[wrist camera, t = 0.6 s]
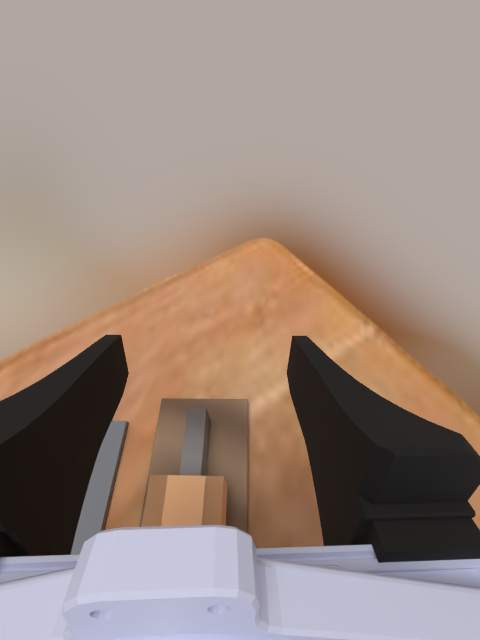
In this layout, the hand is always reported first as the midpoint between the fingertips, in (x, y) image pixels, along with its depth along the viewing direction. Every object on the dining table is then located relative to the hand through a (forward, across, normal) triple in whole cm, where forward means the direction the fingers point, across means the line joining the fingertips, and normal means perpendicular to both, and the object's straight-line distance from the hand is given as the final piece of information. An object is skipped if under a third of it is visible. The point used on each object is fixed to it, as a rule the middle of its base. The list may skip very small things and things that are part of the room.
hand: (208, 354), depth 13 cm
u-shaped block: (+2, +2, +16) cm, 16 cm away
